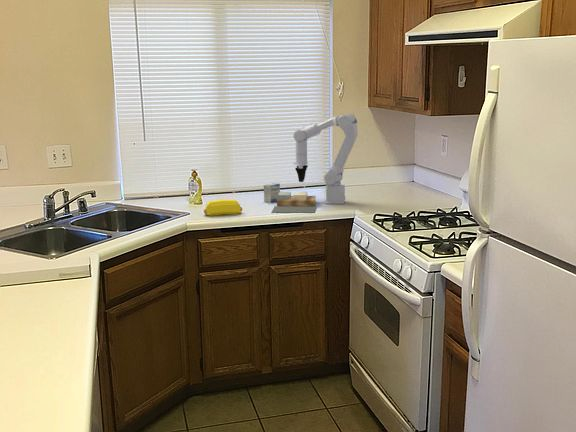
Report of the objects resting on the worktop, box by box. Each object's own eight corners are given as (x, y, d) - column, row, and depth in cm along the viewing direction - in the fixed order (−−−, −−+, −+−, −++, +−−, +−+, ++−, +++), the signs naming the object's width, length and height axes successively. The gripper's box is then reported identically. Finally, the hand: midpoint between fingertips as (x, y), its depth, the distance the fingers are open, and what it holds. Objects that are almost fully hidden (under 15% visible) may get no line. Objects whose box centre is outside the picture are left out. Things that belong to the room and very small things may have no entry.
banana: (203, 213, 300) (204, 217, 293) (202, 199, 299) (203, 202, 291) (241, 211, 304) (243, 214, 297) (240, 197, 302) (243, 200, 295)
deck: (315, 201, 323) (315, 195, 322) (314, 206, 311) (314, 200, 310) (279, 201, 324) (279, 195, 324) (276, 206, 313) (276, 200, 312)
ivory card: (307, 196, 321) (307, 191, 321) (306, 199, 313) (306, 195, 312) (295, 196, 322) (295, 191, 321) (293, 199, 313) (293, 195, 313)
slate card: (290, 196, 322) (290, 191, 322) (289, 199, 313) (289, 195, 313) (279, 196, 323) (279, 191, 322) (277, 199, 314) (277, 195, 313)
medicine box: (270, 202, 322) (270, 185, 320) (263, 201, 325) (263, 184, 323) (280, 200, 328) (280, 183, 326) (273, 199, 331) (273, 182, 329)
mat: (316, 206, 310) (316, 206, 310) (314, 212, 297) (314, 212, 297) (274, 206, 312) (274, 206, 312) (271, 212, 299) (271, 212, 299)
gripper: (294, 152, 329) (295, 178, 332) (292, 155, 315) (292, 183, 318) (308, 152, 329) (308, 178, 332) (306, 155, 315) (306, 183, 318)
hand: (301, 180), depth 325 cm, fingers open, 6 cm apart
